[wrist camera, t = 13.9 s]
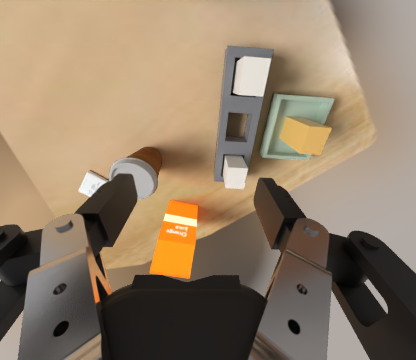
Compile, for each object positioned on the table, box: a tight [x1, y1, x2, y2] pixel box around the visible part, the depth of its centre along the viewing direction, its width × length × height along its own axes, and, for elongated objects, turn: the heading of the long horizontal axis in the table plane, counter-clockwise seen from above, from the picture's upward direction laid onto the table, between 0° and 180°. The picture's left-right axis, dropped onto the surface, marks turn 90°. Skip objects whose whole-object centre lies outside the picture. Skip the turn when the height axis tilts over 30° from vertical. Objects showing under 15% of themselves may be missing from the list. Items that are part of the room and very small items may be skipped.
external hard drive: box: [79, 170, 109, 197], centre depth 47 cm, size 2×8×12 cm
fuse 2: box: [231, 56, 271, 97], centre depth 29 cm, size 5×4×10 cm
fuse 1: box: [222, 154, 248, 189], centre depth 38 cm, size 5×4×10 cm
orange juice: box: [150, 200, 198, 278], centre depth 43 cm, size 8×9×20 cm
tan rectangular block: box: [279, 116, 332, 155], centre depth 34 cm, size 5×4×10 cm
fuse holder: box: [214, 46, 274, 182], centre depth 36 cm, size 27×8×4 cm, turn 176°
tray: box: [259, 94, 335, 160], centre depth 37 cm, size 14×12×3 cm
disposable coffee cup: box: [109, 147, 162, 200], centre depth 37 cm, size 10×10×12 cm
